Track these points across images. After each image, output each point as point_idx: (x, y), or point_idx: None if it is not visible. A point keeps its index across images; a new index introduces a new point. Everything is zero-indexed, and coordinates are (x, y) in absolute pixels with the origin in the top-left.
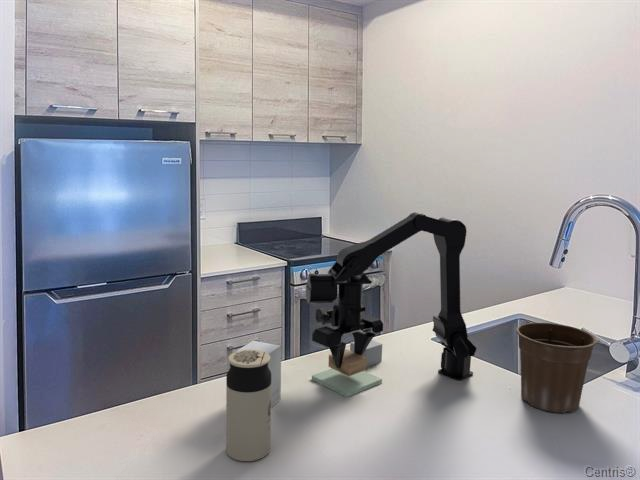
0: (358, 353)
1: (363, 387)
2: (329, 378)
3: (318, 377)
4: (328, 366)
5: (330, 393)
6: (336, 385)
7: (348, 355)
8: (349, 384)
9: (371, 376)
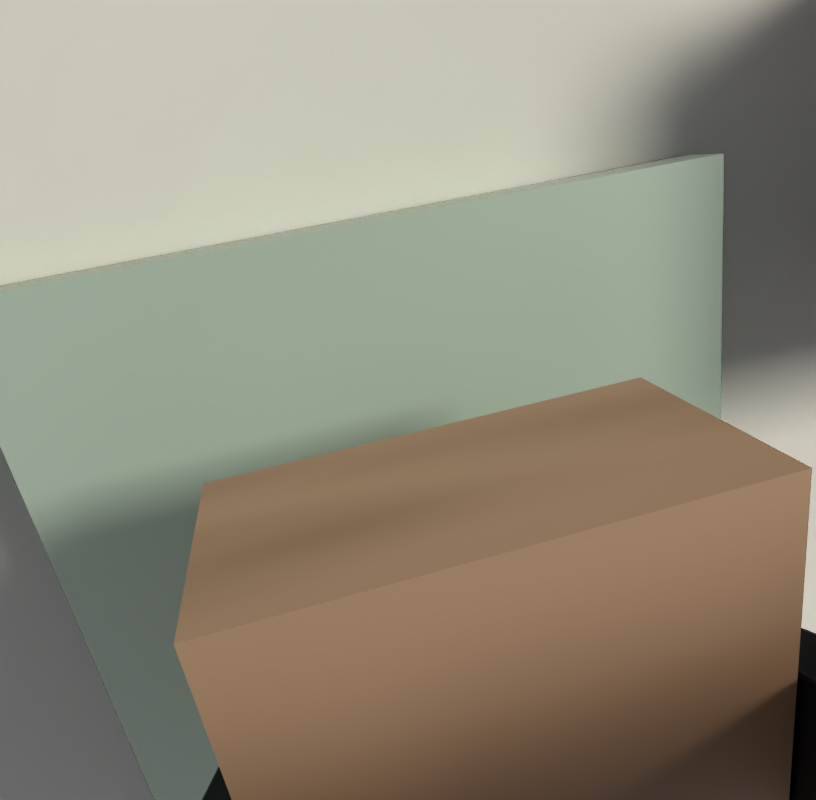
0: (807, 781)
1: None
2: (183, 513)
3: (23, 428)
4: (203, 484)
5: (60, 730)
6: (170, 712)
7: (593, 784)
8: None
9: None
